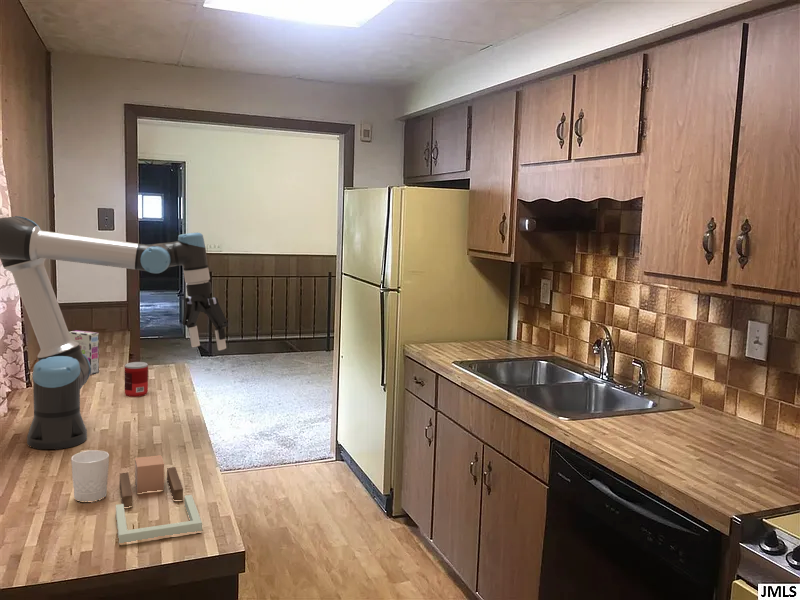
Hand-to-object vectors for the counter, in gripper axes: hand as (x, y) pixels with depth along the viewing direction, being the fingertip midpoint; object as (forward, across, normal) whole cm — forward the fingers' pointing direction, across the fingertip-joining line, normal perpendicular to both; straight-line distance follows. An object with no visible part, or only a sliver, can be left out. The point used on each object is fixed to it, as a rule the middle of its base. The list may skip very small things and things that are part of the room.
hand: (208, 348), depth 208 cm
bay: (+22, -47, +53) cm, 74 cm away
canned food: (+20, +44, +3) cm, 49 cm away
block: (+22, -30, +44) cm, 57 cm away
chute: (+22, -33, +45) cm, 60 cm away
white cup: (+20, -25, +56) cm, 64 cm away
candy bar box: (+16, +85, +1) cm, 86 cm away
